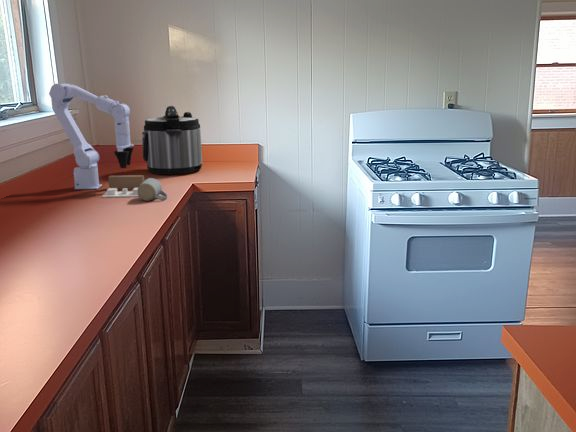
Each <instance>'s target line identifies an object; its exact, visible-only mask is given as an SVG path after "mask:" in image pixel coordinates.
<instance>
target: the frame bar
mask: <svg viewBox="0 0 576 432" xmlns="http://www.w3.org/2000/svg"><path fill="white" fill-rule="evenodd" d="M107 180H108V189H109V188H117V190H122V189H123V188H127V189H128V190H133V189H134V188H138V187H139V186H140V185H141V184H142V183H143V182H144V181H145V176H144V174H143V175H141V174H137V175H136V174H134V175H133V174H132V175H131V174H129V175H109V176H108V178H107Z"/></svg>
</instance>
